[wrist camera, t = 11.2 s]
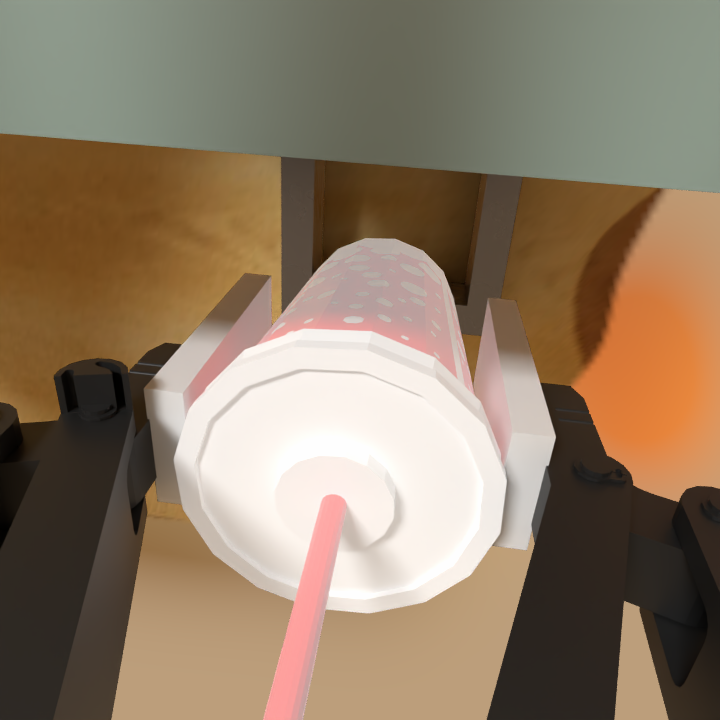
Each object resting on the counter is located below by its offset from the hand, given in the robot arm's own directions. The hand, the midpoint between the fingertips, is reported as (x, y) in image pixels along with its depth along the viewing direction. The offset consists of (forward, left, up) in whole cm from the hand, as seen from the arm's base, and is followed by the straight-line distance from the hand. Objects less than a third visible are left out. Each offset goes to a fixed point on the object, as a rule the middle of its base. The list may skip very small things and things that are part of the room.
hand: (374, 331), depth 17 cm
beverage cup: (0, 0, -2) cm, 2 cm away
